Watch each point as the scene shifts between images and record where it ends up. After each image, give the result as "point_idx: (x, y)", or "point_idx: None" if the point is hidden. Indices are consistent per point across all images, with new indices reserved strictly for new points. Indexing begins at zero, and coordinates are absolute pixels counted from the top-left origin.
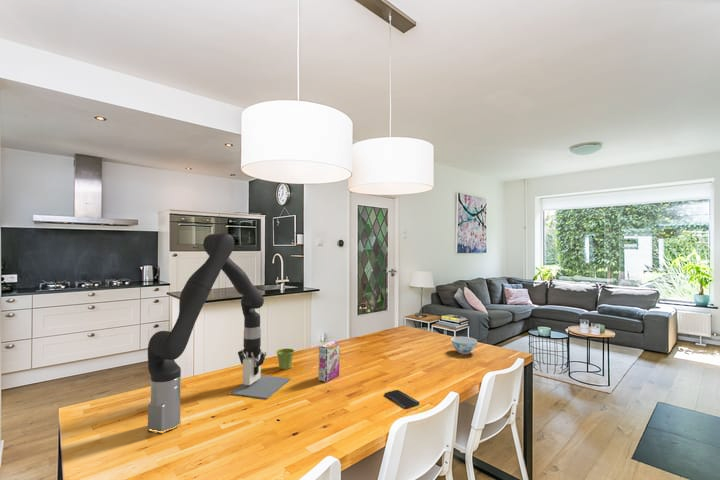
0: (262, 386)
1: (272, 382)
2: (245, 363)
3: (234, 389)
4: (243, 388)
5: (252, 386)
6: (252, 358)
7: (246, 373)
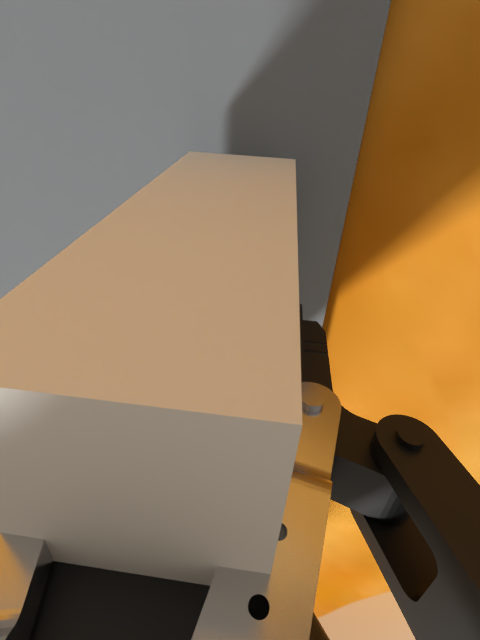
0: (94, 222)
1: None
2: (187, 302)
3: (377, 56)
4: (269, 122)
5: None
6: (10, 522)
7: (209, 197)
